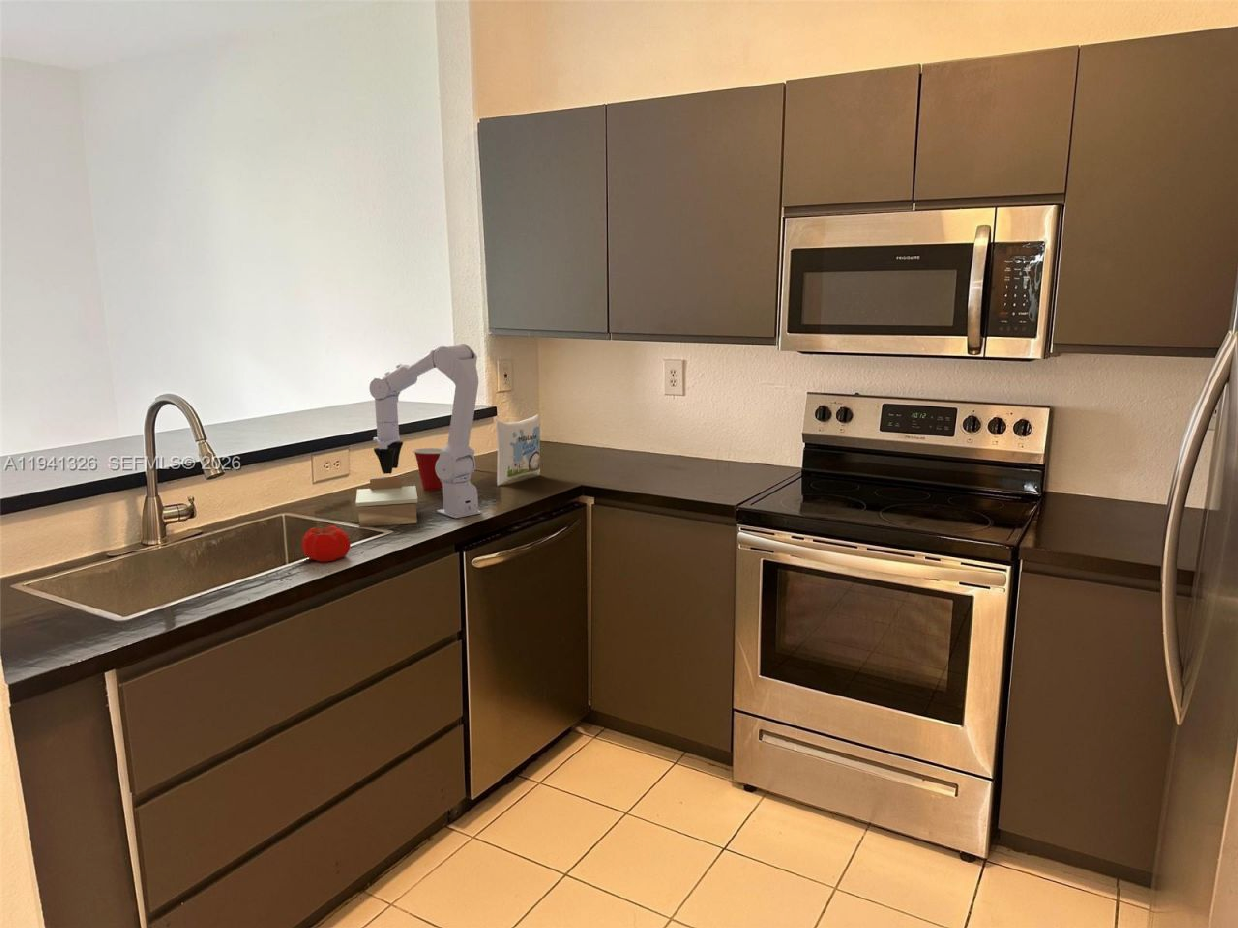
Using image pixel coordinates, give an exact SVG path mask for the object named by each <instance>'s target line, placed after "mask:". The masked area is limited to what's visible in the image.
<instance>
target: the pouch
mask: <svg viewBox="0 0 1238 928" xmlns="http://www.w3.org/2000/svg"><path fill="white" fill-rule="evenodd" d="M540 429H541V419H540V413H537V414H535V415H534V416H531V417H529V418H526V419H522V420H520V421H509V422H503V421H500V420H496V437H497V438H496V440H497V441H496V443H497V487H499V486H501V485H504V484H505V483H506V482H508V481H511V480H514V479H516V478H519V477H521V476H528V475H532V474H533V475H537V476H540V473H541V454H540V442H541V441H540V438H541V434H540V431H541V430H540Z"/></svg>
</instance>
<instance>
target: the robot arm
mask: <svg viewBox="0 0 1238 928" xmlns="http://www.w3.org/2000/svg"><path fill="white" fill-rule="evenodd" d="M477 359H478V356H477V354H476V353H475V351H474V349H472V347H471V346H469V345H467V344H464V343H463V344H457V345H447V346H444V345H441V346H439V347H437V348H435V349H432V350H431V351H430V352H429V353H427V354H425V355H424V356H423V357H421V358H420V359H418V360H416V362H414V363H412V364H411V365H409V364H403V363H401V364H397V365H396V366H395V367H396V368H395V369H394V370H392V371H388V372H385V373H384V376H383V377H374V378H373V379H372V380H371V382H370V383H369V387H368V389H369V393H370V396H372V397H373V399H374V402H375V404H374V405H375V406H374V407H375V419H376V420H375V421H376V433H377V434H376V435H377V436H374V437H373V439H372V441H376V442H377V443H378V447H374V448H373V451H374V454H375V455H376V456H377V459H378V461H379V465H380V466H381V467H380V468H381V470H382V473H383V474H385V475H387V474H390V475H391V474H392V471H393V469H397V468H398V467H399V463H400V462H399V460H400V454H401V450H402V447H403V445H404V441H403V440H401V437H400V430H399V429H400V426H399V415H398V412H399V411H398V402H399V396H400V394H401V392H402V391H405V390H407V389H408V388H410V387H411V386H412V385H415V384H416V383H417V380H418V377H419V376H421V375H423V374H425V373H428V372H430V371H432V370H433V369H435V368H436V369H437V370H439V371H440V372H441V373H442V374H443V375H445V376H446V377H447V378H448V380H449V379H450V381H452V382H453V384H454V385H455V389H454V395H453V403H452V410H451V417H450V423H449V431H448V438H447V444H445V446H444V447H443V448H442V449H443V450H442V451H441V453H440V458H439V460H438V461H437V463H436V466H435V470H436V473H437V476H438V477H439V478H440V479H441V482H442V485H443V488H442V500H443V501H442V503H443V509H437V511H436V512H437V513H439V514H441V515H445V516H448V517H450V518H454V519H459V518H464V517H470V516H475V515H479V514H482V511H480V510H479V499H478V497H479V496H478V490H477V489H478V488H477V487H476V486H475V485H474V484H473V483H472V482H471V479H472V474H473V472H475V469H476V461H475V458H474V457H475V456H474V455H475V450H474V449H473V448H472V447H471V446H470V440H471V433H472V429H473V428H472V426H473V421H474V414H475V413H474V412H475V408H476V407H475V406H476V401H477V400H476V399H477V394H478V387H479V377H478V372H477V371H478V370H477V366H476V365H477Z"/></svg>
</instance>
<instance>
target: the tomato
mask: <svg viewBox="0 0 1238 928" xmlns="http://www.w3.org/2000/svg"><path fill="white" fill-rule="evenodd" d="M350 539H351V538H350V537H349V536H348V533H346V531H344V530H343V529H340V528H339V527H337V526H336V525H329V526H326V527H325V526H322V528H319V527H315V526H314V527H311V528H309V529H308V530H307V531H306V532H305V534H304V535H303V537H302V539H301V548H302V552H303V553H304V555H305V556H306V557H307V558H309V559H310V560H315V561H317V562H321V563H322V562H323V563H324V562H325V563H327V562H332V561H335V560H337V559H342V558H344V557H345V556H347V555H348V553H349V551H350V550H351V540H350Z"/></svg>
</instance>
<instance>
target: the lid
mask: <svg viewBox="0 0 1238 928" xmlns="http://www.w3.org/2000/svg"><path fill="white" fill-rule="evenodd" d="M369 484H370V488H363V489H356V495H355V507H356V508H358V507H359V506H373V505H388V504H402V503H418V496H417V495H418V494H417V489H416V485H409V486H407V485H406V486H403V484H402V476H400V475H399V476H383V477H382V476H381V477H369Z"/></svg>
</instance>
